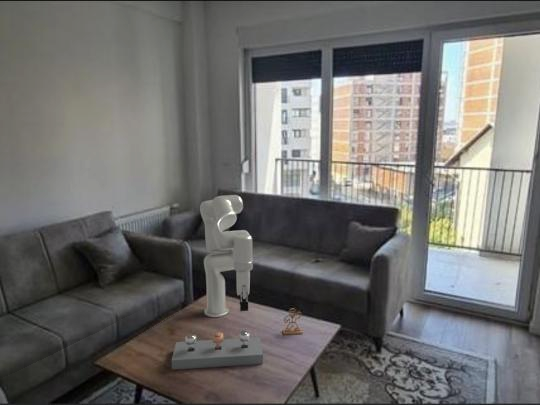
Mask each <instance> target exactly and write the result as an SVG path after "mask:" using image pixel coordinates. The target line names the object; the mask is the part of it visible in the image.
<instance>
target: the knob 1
mask: <svg viewBox="0 0 540 405" xmlns="http://www.w3.org/2000/svg"><path fill="white" fill-rule="evenodd" d="M184 340H185V341H184V342H185V343H186V344H187V345H189V350H193V344H195V343H196V341H197V335H196V334H195V333H188V334H187V335H185V336H184Z"/></svg>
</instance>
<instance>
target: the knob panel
mask: <svg viewBox="0 0 540 405" xmlns="http://www.w3.org/2000/svg"><path fill="white" fill-rule="evenodd" d="M262 348H263V347H262V342H261V337H259V336H258V337H250V340H249V341H247V346H246V347H243V342H242V341H240V340H239V337H238V338H225V339H224V338H223V342H221V343H220V348H219V349H217V348H216V343H214V342H213V339H207V340H203V339H202V340H196V343H195V344H193V350H189V345H187V344H186V343H185V341H176V342H175V346H174V350H173V353H172V357H171V370H187V369H201V368H216V367H231V366H232V367H233V366H248V365H249V366H251V365H263V364H264V357H263V355H264V353H263V349H262Z"/></svg>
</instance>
